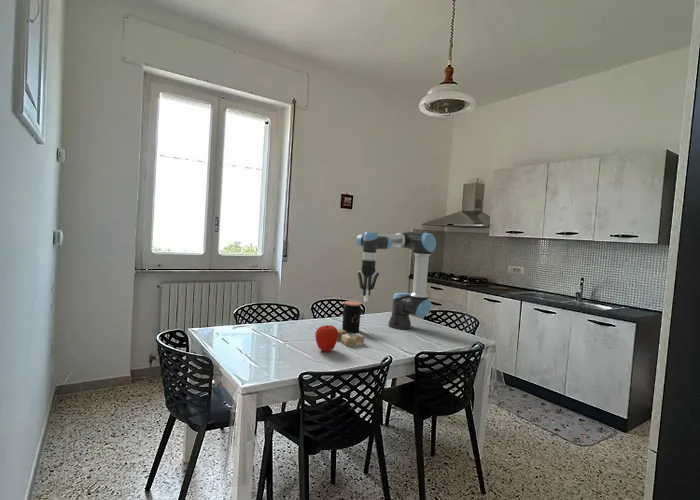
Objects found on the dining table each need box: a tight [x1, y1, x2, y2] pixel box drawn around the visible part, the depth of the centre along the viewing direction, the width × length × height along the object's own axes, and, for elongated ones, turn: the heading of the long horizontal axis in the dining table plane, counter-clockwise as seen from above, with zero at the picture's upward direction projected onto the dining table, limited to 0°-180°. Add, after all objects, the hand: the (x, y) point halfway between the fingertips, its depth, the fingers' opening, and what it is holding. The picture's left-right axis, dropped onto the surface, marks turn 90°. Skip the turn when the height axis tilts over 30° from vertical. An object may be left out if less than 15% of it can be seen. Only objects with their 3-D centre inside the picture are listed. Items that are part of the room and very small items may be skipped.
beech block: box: [340, 332, 365, 347], centre depth 220 cm, size 5×6×11 cm
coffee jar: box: [341, 300, 362, 334], centre depth 246 cm, size 11×11×18 cm
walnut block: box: [336, 328, 347, 342], centre depth 228 cm, size 5×6×11 cm
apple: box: [315, 324, 338, 353], centre depth 205 cm, size 12×12×14 cm
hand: (365, 301), depth 221 cm, fingers closed
